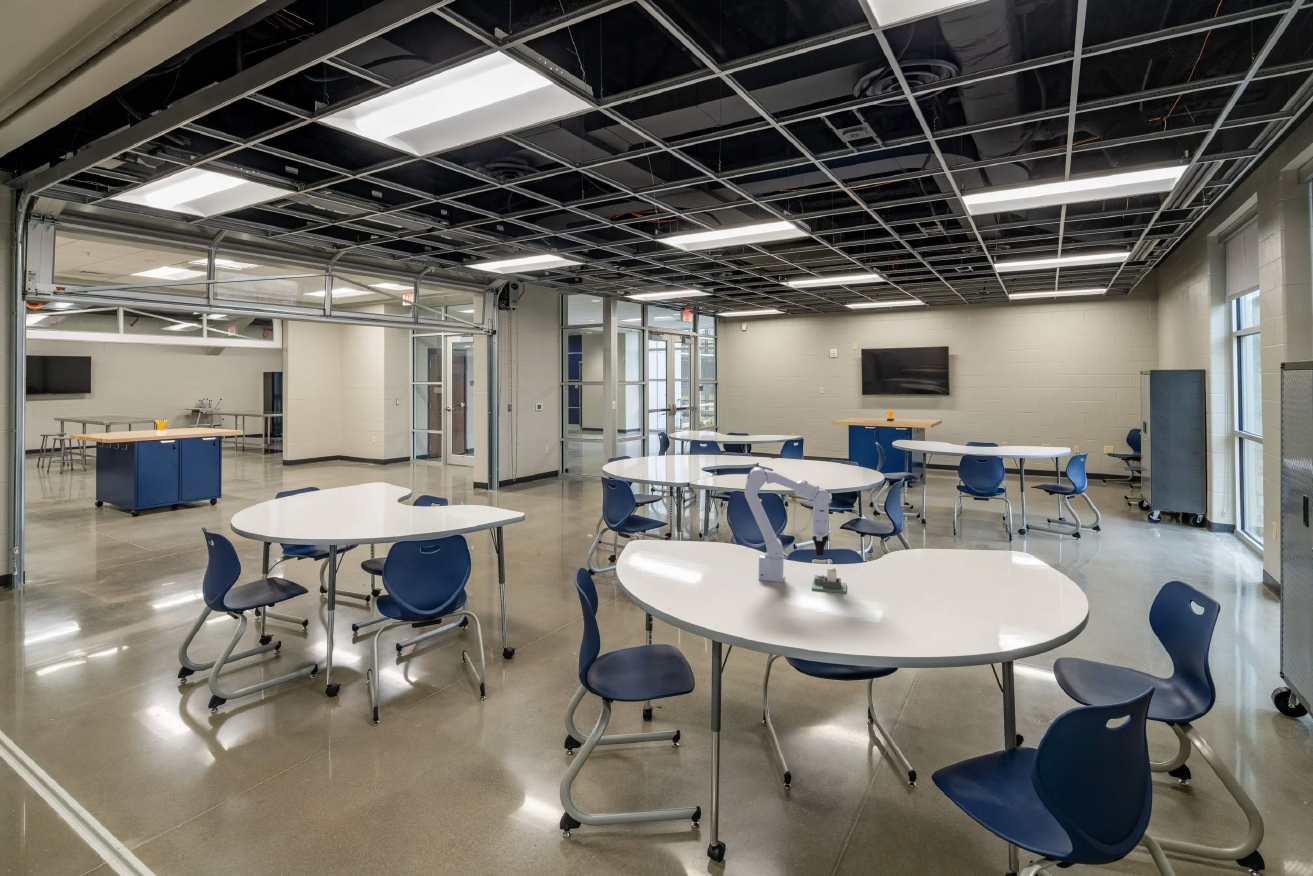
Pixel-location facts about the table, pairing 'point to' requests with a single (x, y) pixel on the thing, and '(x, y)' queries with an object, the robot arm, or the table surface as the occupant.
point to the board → (828, 585)
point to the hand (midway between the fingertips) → (819, 555)
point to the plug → (831, 575)
